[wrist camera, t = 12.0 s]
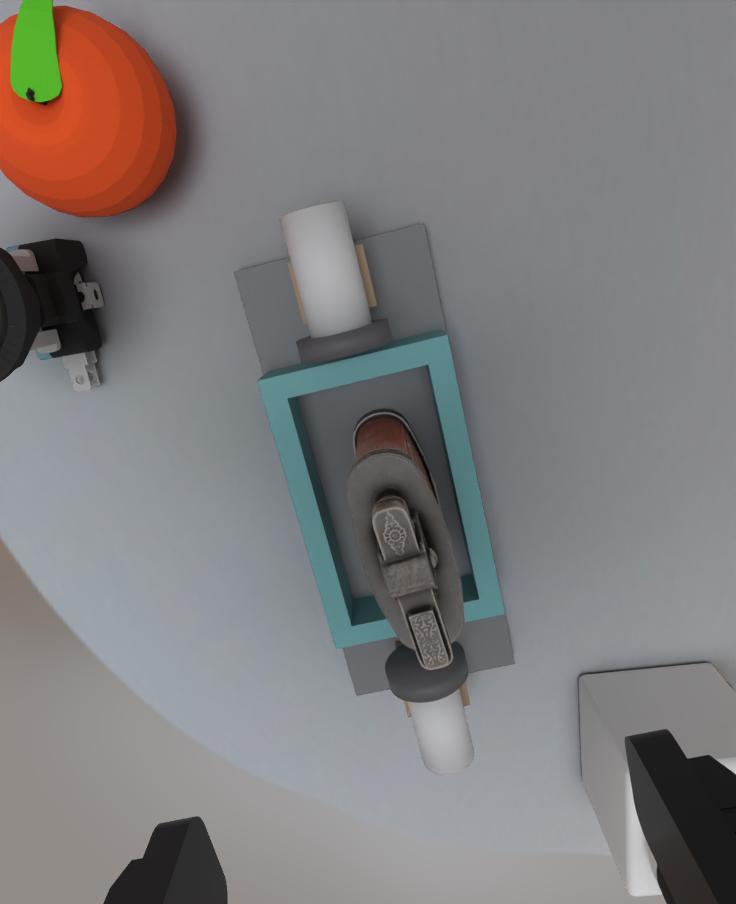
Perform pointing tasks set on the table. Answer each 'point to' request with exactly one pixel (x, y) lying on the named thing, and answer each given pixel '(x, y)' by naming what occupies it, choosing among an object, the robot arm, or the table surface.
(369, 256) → the shaft cradle
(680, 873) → the robot arm
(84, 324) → the push button
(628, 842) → the medicine bottle
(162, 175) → the clementine
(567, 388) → the table surface
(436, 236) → the table surface
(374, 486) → the lighter
